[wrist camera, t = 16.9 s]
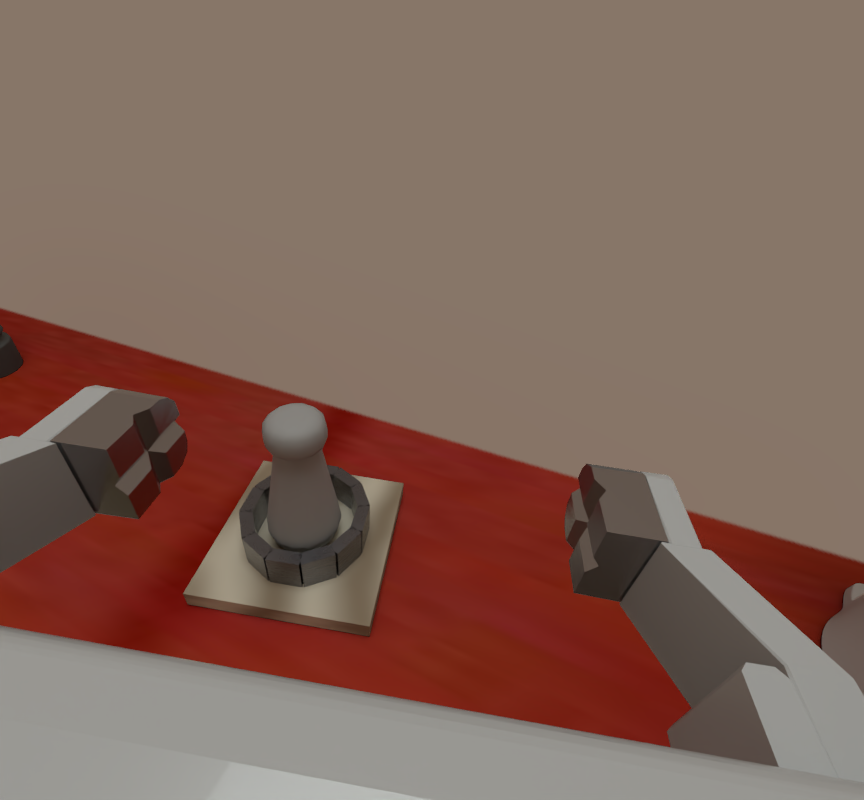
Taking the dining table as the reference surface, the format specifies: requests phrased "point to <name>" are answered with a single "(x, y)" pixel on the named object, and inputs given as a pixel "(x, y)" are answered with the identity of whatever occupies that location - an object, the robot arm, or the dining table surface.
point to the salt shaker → (299, 479)
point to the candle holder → (8, 355)
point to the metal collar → (314, 562)
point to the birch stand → (313, 605)
